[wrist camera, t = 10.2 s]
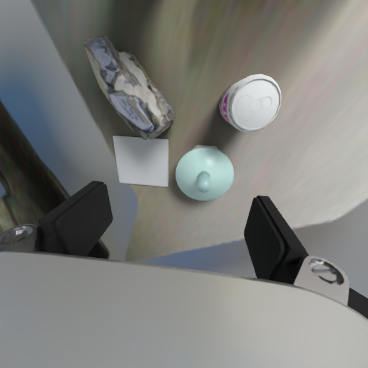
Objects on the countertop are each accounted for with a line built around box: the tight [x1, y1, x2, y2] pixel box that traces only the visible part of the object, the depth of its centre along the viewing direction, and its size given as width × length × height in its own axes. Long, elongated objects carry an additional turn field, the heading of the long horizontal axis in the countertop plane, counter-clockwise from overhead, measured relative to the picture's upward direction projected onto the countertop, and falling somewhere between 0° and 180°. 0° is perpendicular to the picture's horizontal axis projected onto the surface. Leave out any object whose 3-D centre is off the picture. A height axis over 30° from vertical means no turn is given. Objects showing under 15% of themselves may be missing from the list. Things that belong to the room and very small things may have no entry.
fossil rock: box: [84, 35, 176, 140], centre depth 34 cm, size 20×10×15 cm, turn 31°
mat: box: [113, 136, 168, 187], centre depth 46 cm, size 14×15×1 cm
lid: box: [176, 147, 234, 201], centre depth 38 cm, size 14×14×6 cm
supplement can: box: [219, 74, 281, 132], centre depth 31 cm, size 8×8×15 cm
